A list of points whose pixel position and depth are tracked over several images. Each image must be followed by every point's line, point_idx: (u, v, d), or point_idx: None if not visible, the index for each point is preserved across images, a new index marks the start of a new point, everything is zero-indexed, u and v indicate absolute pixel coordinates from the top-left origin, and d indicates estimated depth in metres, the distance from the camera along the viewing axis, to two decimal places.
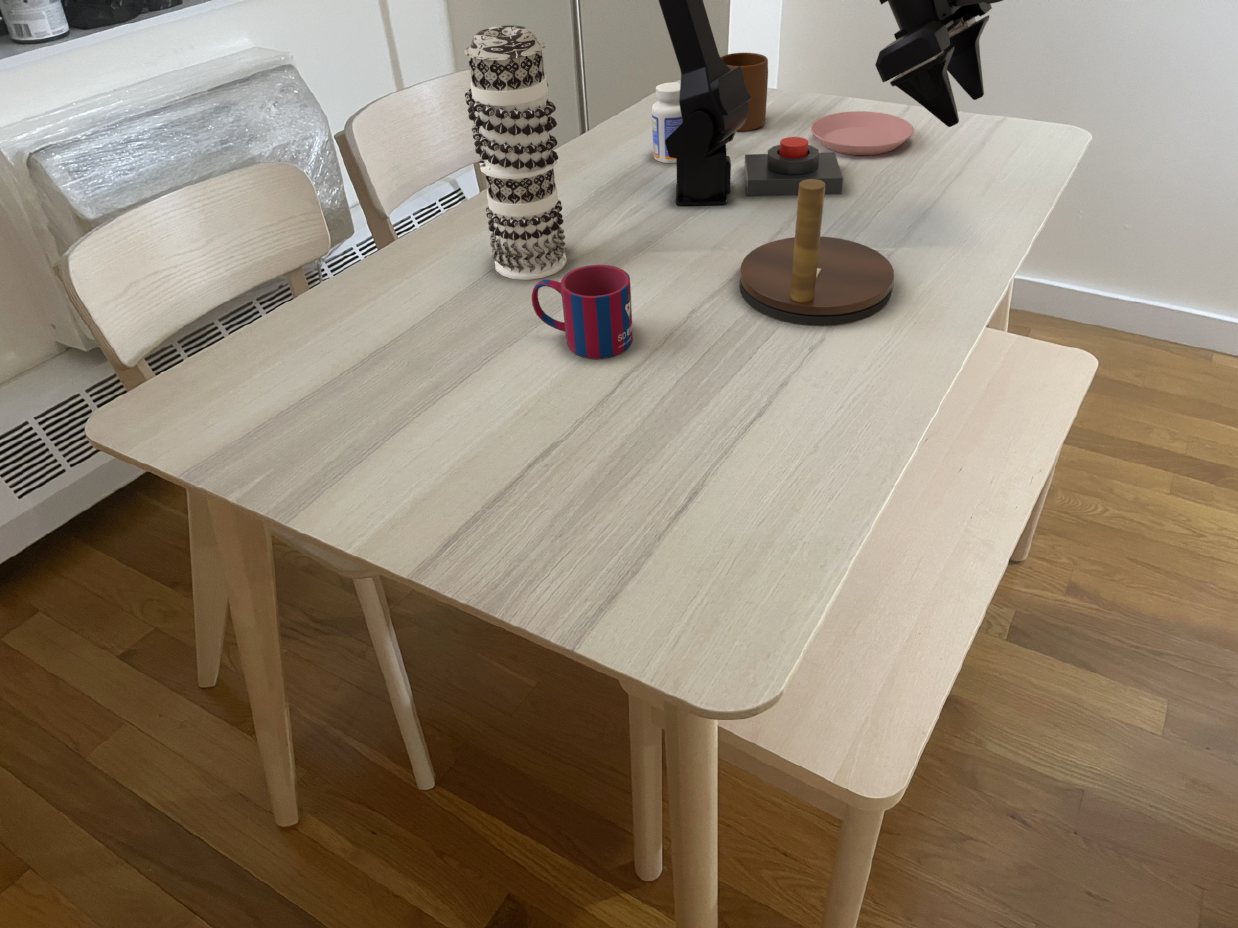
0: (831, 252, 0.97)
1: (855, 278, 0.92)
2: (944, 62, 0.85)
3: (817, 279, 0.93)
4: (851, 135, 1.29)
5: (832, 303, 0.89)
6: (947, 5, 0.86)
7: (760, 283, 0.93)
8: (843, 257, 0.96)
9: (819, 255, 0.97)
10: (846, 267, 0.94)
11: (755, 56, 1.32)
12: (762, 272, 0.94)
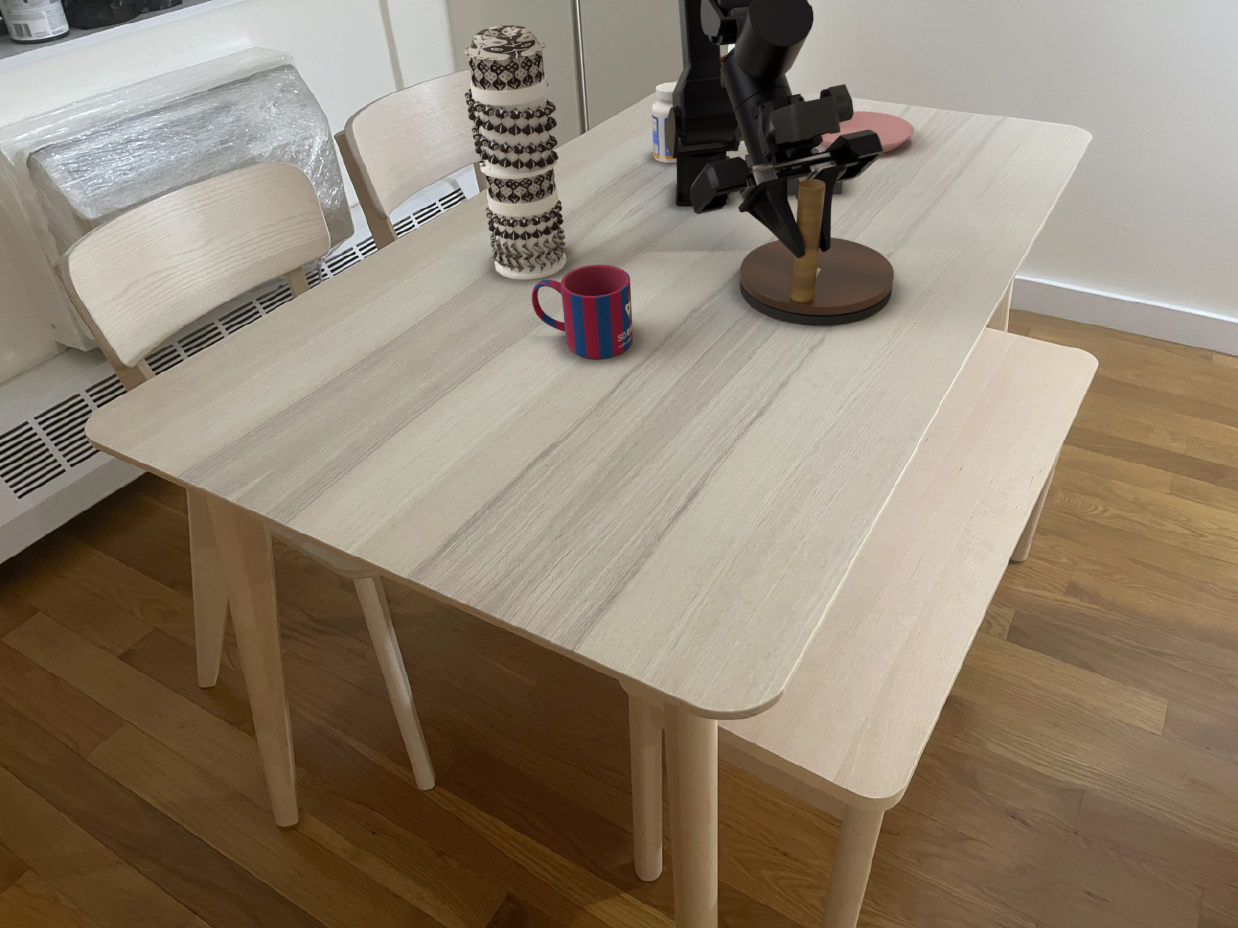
0: (831, 252, 0.97)
1: (855, 278, 0.92)
2: (769, 191, 0.83)
3: (817, 279, 0.93)
4: None
5: (832, 303, 0.89)
6: (766, 143, 0.83)
7: (760, 283, 0.93)
8: (843, 257, 0.96)
9: (819, 255, 0.97)
10: (846, 267, 0.94)
11: None
12: (762, 272, 0.94)
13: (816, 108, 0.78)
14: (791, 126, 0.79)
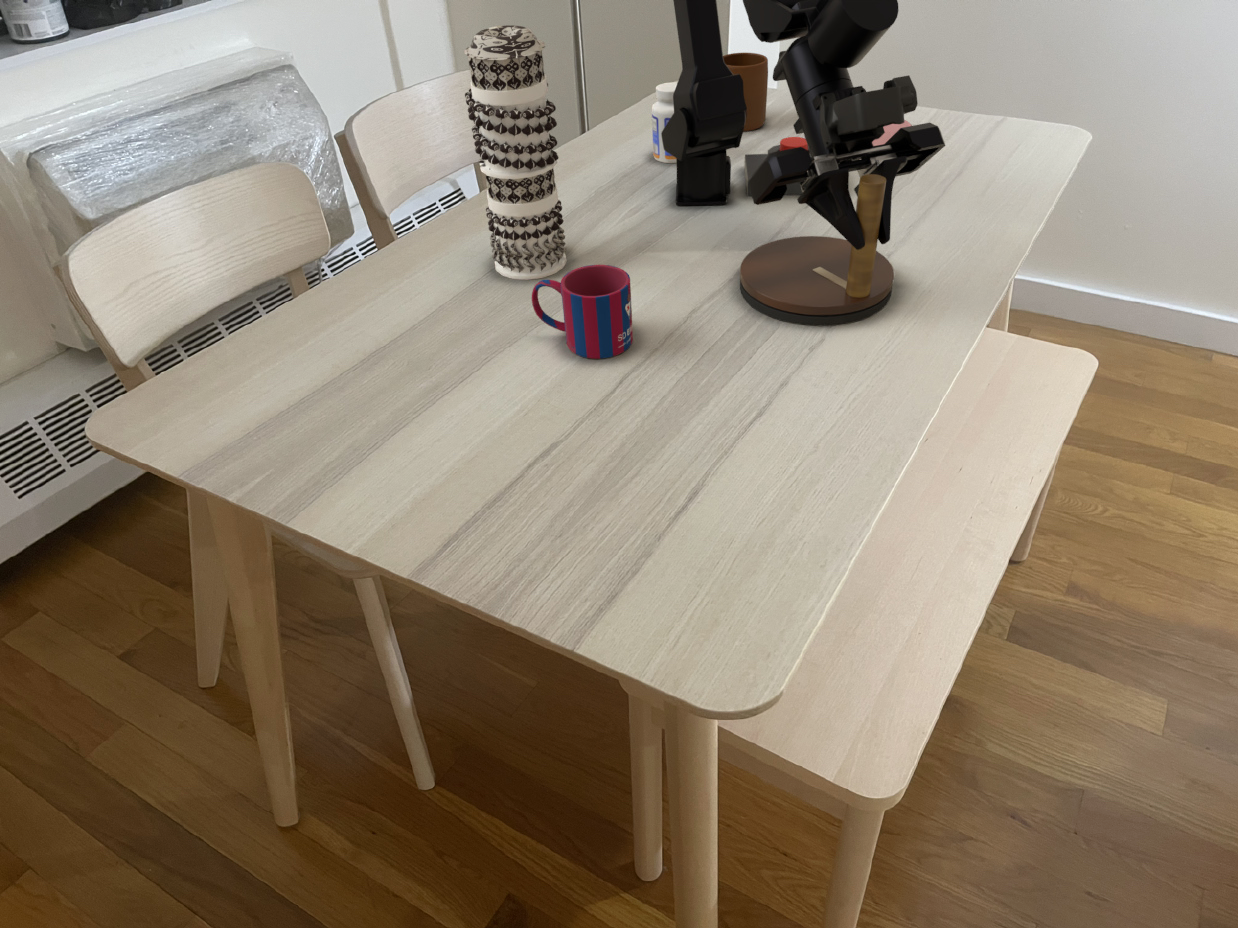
0: (795, 252, 0.98)
1: None
2: (830, 181, 0.83)
3: (835, 275, 0.93)
4: None
5: (883, 284, 0.91)
6: (828, 134, 0.83)
7: (812, 300, 0.89)
8: (810, 251, 0.98)
9: (794, 259, 0.96)
10: (829, 257, 0.96)
11: (755, 56, 1.32)
12: (792, 292, 0.91)
13: (881, 98, 0.78)
14: (856, 116, 0.79)
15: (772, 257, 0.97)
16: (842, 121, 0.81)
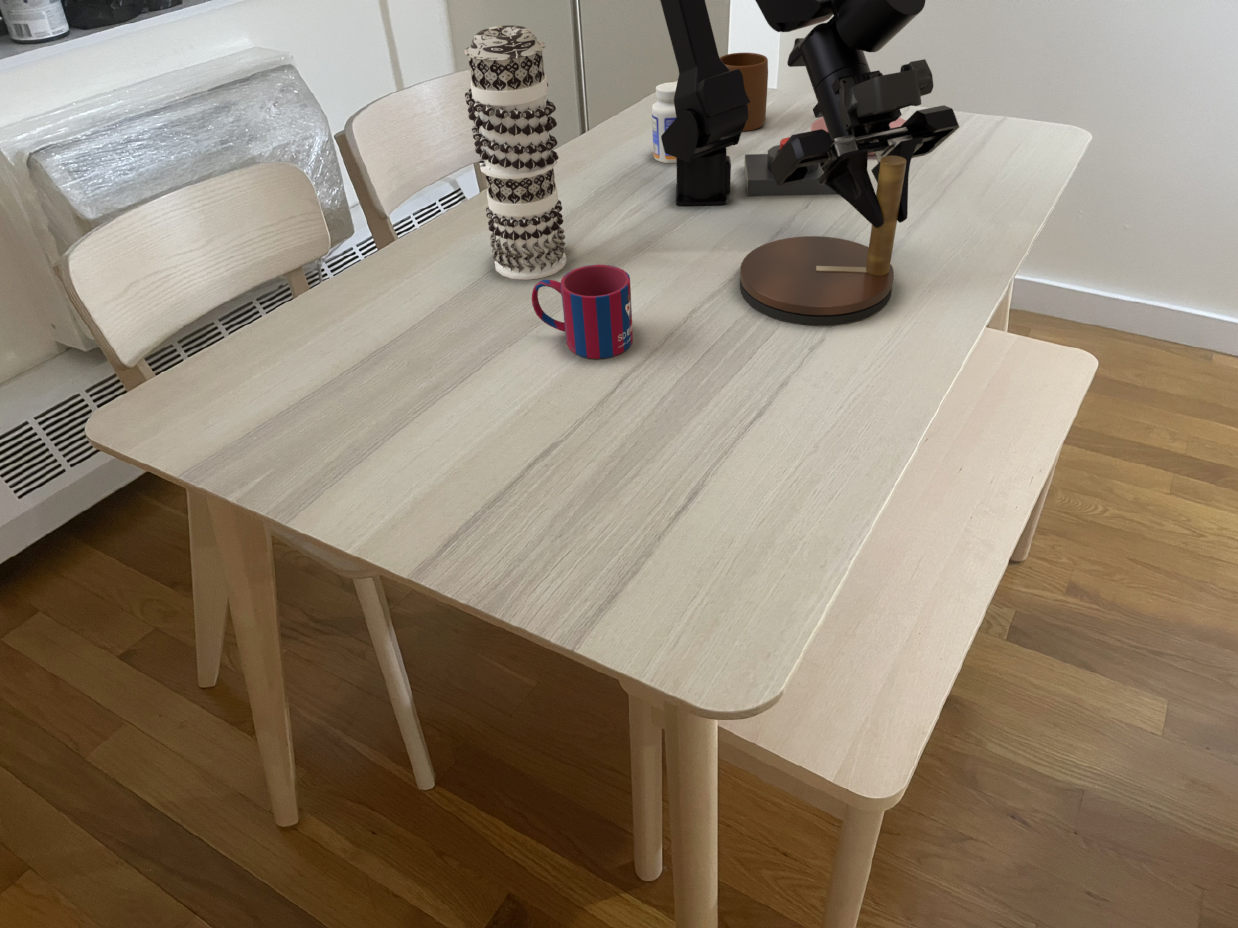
0: (776, 264, 0.96)
1: (823, 250, 0.98)
2: (850, 162, 0.86)
3: (837, 266, 0.95)
4: None
5: None
6: (847, 116, 0.86)
7: (865, 292, 0.90)
8: (784, 258, 0.97)
9: (785, 269, 0.95)
10: (804, 256, 0.97)
11: (755, 56, 1.32)
12: (841, 293, 0.90)
13: (899, 80, 0.82)
14: (875, 98, 0.82)
15: (768, 276, 0.94)
16: (861, 103, 0.84)
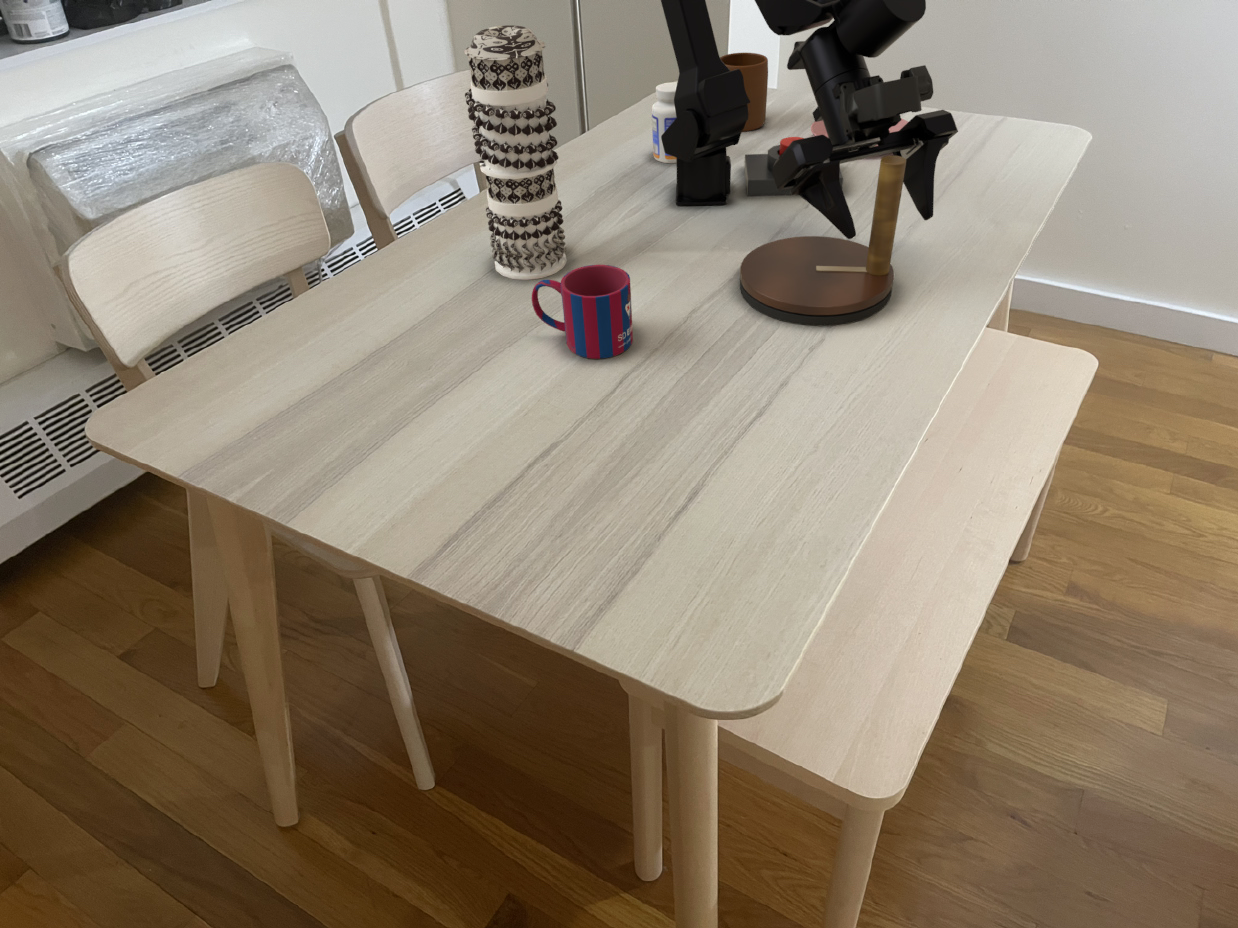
0: (775, 264, 0.96)
1: (823, 250, 0.98)
2: (822, 174, 0.86)
3: (837, 266, 0.95)
4: None
5: None
6: (848, 122, 0.87)
7: (866, 292, 0.90)
8: (784, 258, 0.97)
9: (785, 269, 0.95)
10: (804, 256, 0.97)
11: (755, 56, 1.32)
12: (841, 293, 0.90)
13: (900, 87, 0.82)
14: (876, 104, 0.83)
15: (768, 276, 0.94)
16: (862, 110, 0.85)
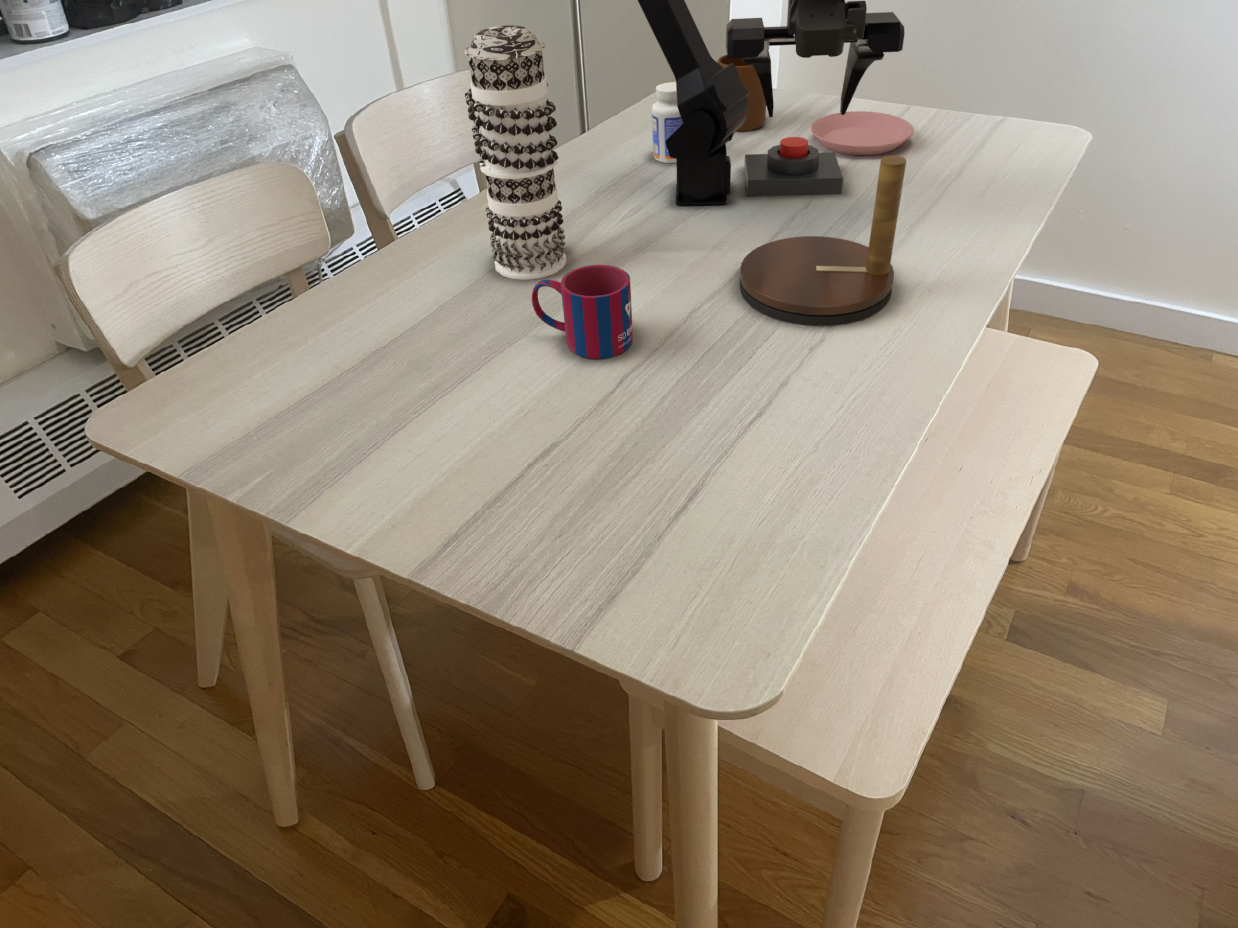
0: (775, 264, 0.96)
1: (823, 250, 0.98)
2: (753, 66, 0.98)
3: (837, 266, 0.95)
4: (851, 135, 1.29)
5: None
6: (789, 25, 0.94)
7: (866, 292, 0.90)
8: (784, 258, 0.97)
9: (785, 269, 0.95)
10: (804, 256, 0.97)
11: None
12: (841, 293, 0.90)
13: (821, 36, 0.90)
14: (797, 41, 0.91)
15: (768, 276, 0.94)
16: (795, 29, 0.92)
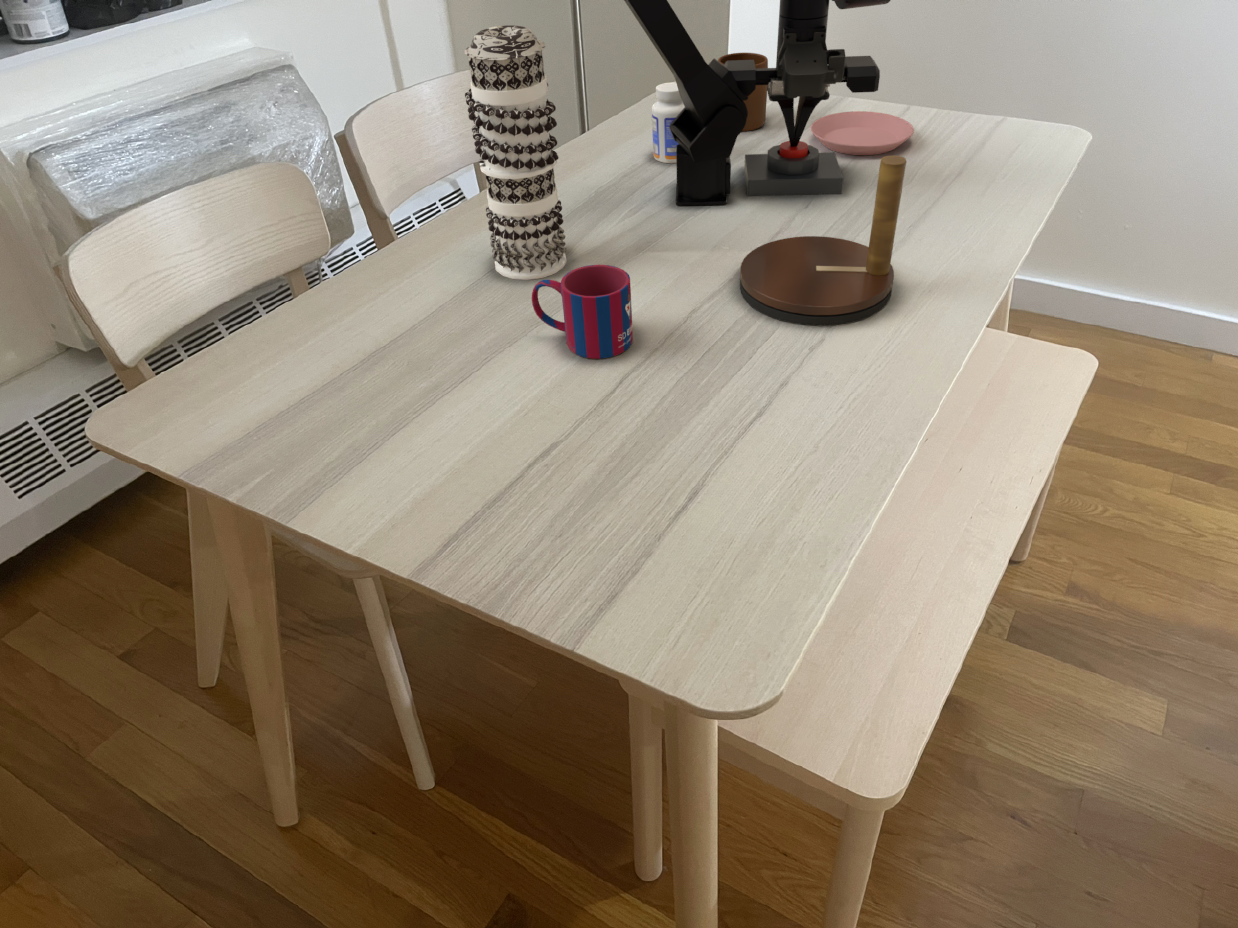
0: (775, 264, 0.96)
1: (823, 250, 0.98)
2: (778, 102, 1.10)
3: (837, 266, 0.95)
4: (851, 135, 1.29)
5: None
6: (778, 68, 1.06)
7: (866, 292, 0.90)
8: (784, 258, 0.97)
9: (785, 269, 0.95)
10: (804, 256, 0.97)
11: (755, 56, 1.32)
12: (841, 293, 0.90)
13: (805, 80, 1.02)
14: (784, 83, 1.03)
15: (768, 276, 0.94)
16: (783, 72, 1.05)
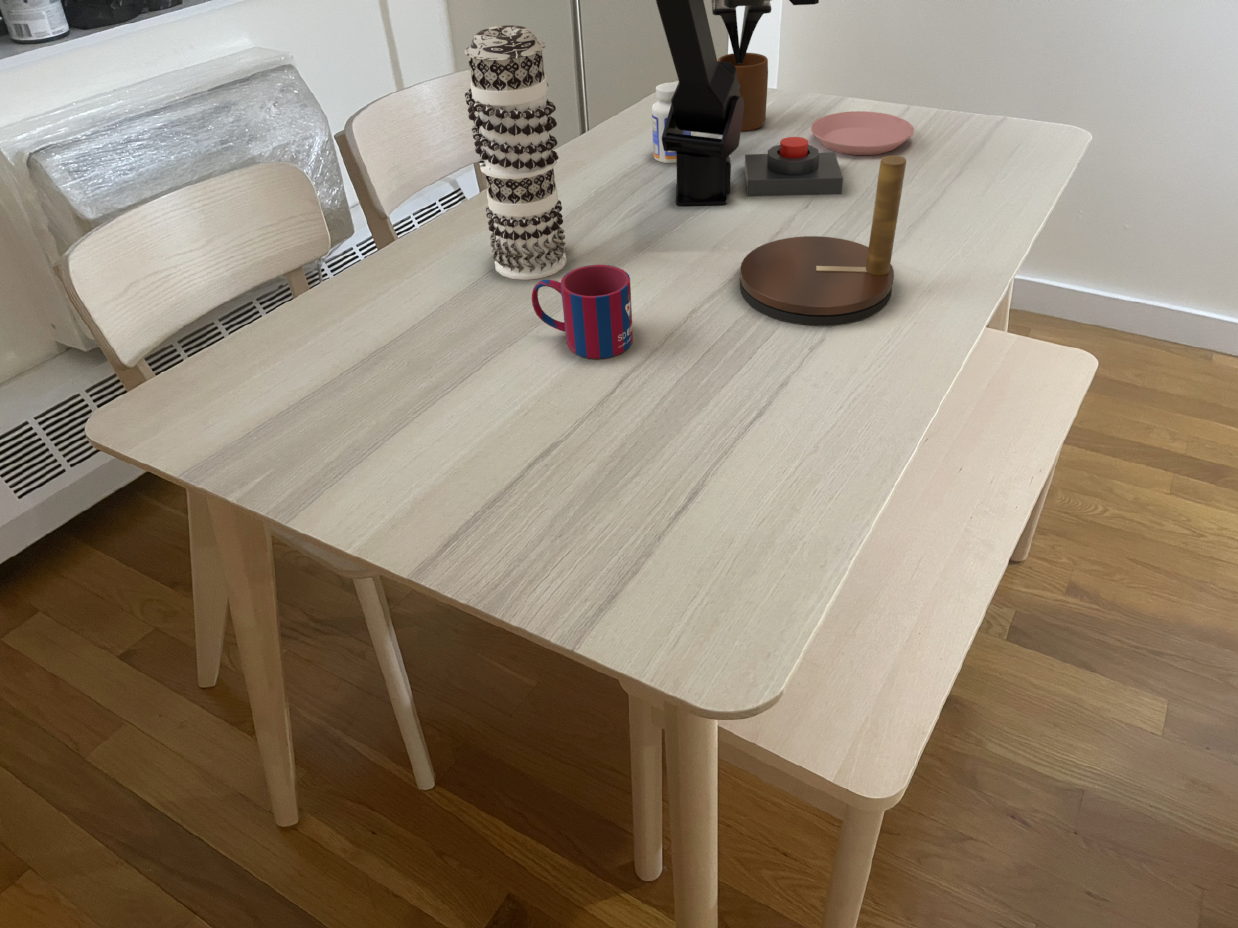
0: (775, 264, 0.96)
1: (823, 250, 0.98)
2: (721, 16, 1.11)
3: (837, 266, 0.95)
4: (851, 135, 1.29)
5: None
6: None
7: (866, 292, 0.90)
8: (784, 258, 0.97)
9: (785, 269, 0.95)
10: (804, 256, 0.97)
11: (755, 56, 1.32)
12: (841, 293, 0.90)
13: None
14: None
15: (768, 276, 0.94)
16: None
